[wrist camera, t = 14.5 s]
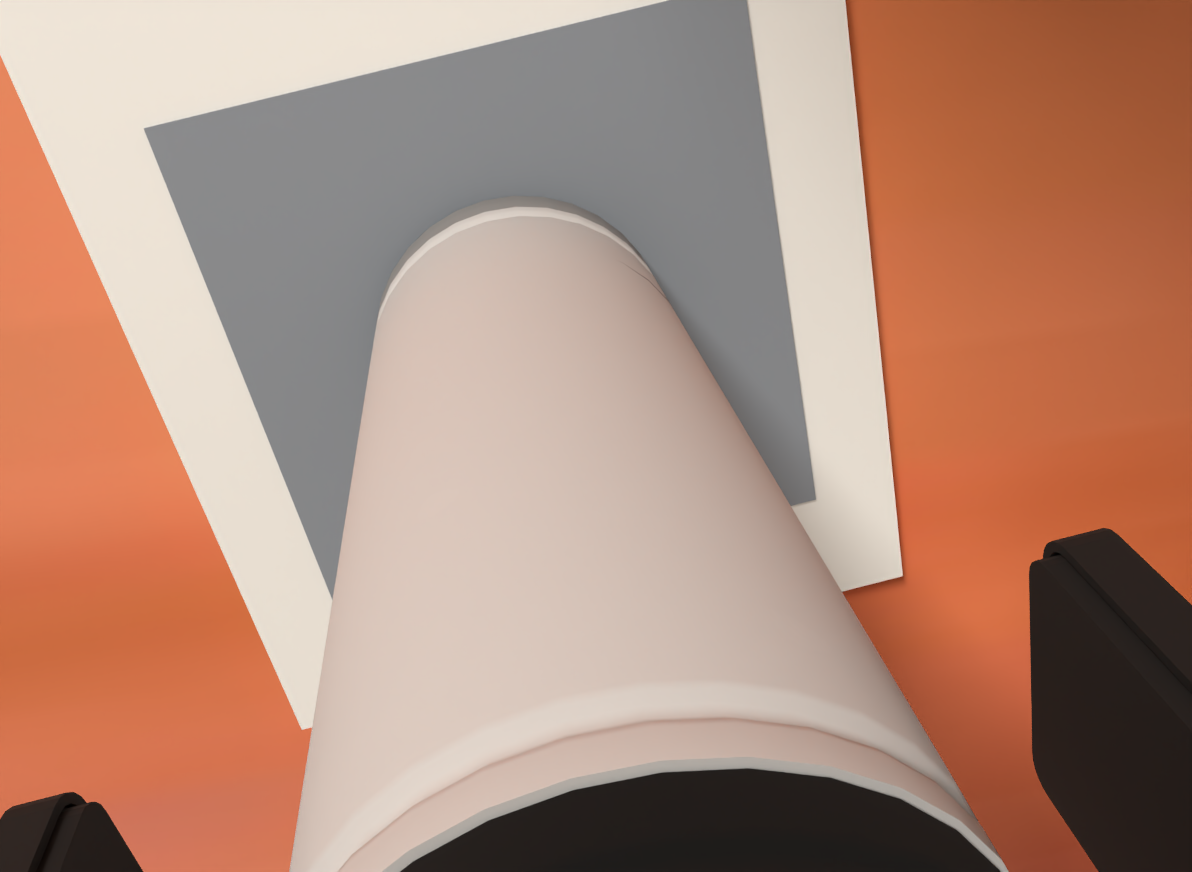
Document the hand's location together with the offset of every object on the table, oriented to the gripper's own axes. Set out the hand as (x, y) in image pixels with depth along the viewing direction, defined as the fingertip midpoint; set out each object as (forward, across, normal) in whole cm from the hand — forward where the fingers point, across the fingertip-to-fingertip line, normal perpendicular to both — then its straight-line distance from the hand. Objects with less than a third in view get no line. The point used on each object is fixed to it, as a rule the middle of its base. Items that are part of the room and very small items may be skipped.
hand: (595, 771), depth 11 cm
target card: (+15, 0, +1) cm, 15 cm away
